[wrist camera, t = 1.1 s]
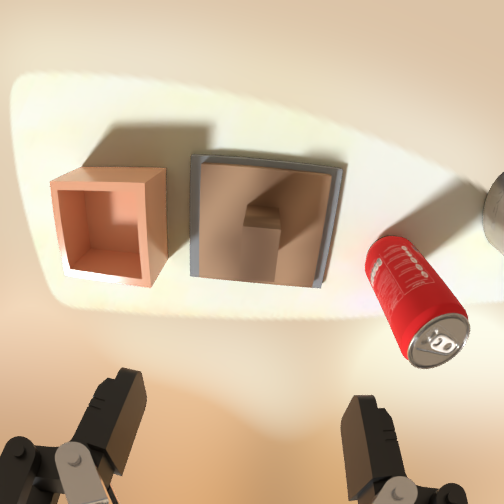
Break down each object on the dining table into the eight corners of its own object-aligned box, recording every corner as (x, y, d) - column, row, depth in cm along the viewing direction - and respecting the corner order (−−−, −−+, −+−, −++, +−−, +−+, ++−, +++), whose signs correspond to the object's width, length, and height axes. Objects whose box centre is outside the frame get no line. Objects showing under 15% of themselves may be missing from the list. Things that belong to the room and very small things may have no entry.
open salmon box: (166, 167, 25) (144, 182, 21) (167, 258, 29) (151, 287, 25) (81, 166, 25) (49, 181, 21) (89, 250, 29) (65, 275, 25)
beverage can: (382, 221, 26) (442, 299, 16) (422, 247, 27) (485, 325, 17) (351, 267, 29) (388, 360, 18) (391, 288, 29) (436, 378, 19)
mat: (341, 168, 25) (342, 169, 24) (319, 284, 30) (320, 288, 29) (192, 154, 25) (191, 155, 24) (191, 273, 30) (190, 276, 29)
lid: (329, 174, 24) (344, 192, 20) (311, 282, 29) (318, 318, 24) (203, 162, 24) (187, 177, 20) (200, 272, 29) (188, 307, 24)
